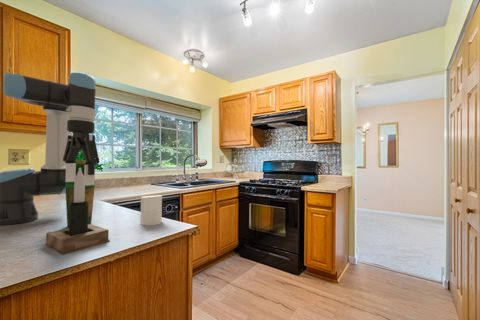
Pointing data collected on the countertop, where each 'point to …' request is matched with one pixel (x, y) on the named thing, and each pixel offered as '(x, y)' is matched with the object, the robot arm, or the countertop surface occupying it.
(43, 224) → the countertop surface
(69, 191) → the bottle
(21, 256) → the countertop surface
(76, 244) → the walnut holder
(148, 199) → the white upright cylinder
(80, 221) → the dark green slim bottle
